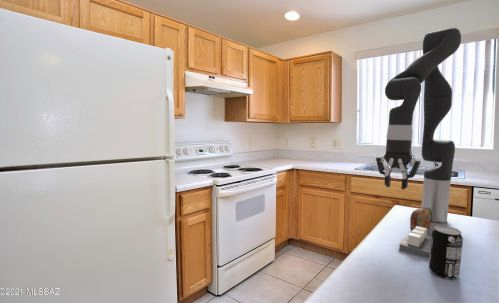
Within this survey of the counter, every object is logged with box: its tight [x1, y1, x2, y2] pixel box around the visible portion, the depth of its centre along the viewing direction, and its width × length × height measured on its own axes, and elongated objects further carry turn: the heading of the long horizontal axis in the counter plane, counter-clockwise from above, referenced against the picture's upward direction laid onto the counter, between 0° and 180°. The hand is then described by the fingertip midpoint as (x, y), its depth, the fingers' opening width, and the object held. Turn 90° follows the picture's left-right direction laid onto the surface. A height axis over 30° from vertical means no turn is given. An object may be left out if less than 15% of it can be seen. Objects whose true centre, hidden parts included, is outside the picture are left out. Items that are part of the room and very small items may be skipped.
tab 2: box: [411, 229, 424, 243], centre depth 88 cm, size 2×3×3 cm
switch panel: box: [398, 232, 431, 260], centre depth 86 cm, size 13×12×2 cm
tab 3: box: [407, 232, 422, 247], centre depth 85 cm, size 2×3×3 cm
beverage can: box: [428, 225, 464, 280], centre depth 72 cm, size 7×7×12 cm
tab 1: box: [415, 226, 428, 239], centre depth 91 cm, size 2×3×3 cm
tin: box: [409, 206, 433, 232], centre depth 102 cm, size 15×3×8 cm, turn 129°
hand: (395, 187), depth 95 cm, fingers open, 4 cm apart
